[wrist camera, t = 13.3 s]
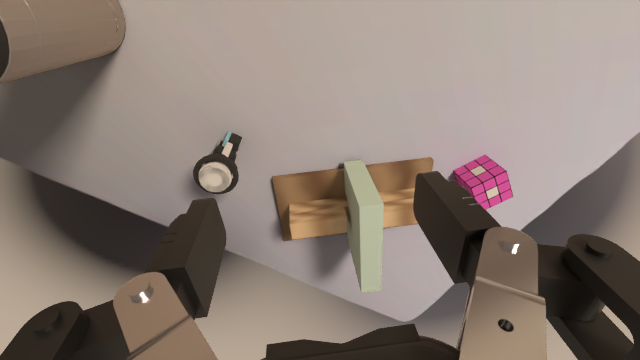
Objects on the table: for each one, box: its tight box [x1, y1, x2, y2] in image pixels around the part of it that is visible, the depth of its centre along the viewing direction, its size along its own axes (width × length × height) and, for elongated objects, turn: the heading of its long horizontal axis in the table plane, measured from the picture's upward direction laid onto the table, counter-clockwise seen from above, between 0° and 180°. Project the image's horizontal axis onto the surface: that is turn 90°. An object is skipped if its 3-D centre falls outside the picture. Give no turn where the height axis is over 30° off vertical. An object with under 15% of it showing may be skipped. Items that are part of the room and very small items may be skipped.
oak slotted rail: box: [272, 157, 433, 241], centre depth 49 cm, size 26×13×6 cm, turn 95°
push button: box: [193, 131, 242, 194], centre depth 40 cm, size 7×5×10 cm
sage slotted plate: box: [344, 160, 384, 293], centre depth 45 cm, size 16×3×12 cm, turn 5°
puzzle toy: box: [453, 155, 513, 210], centre depth 49 cm, size 6×6×6 cm
